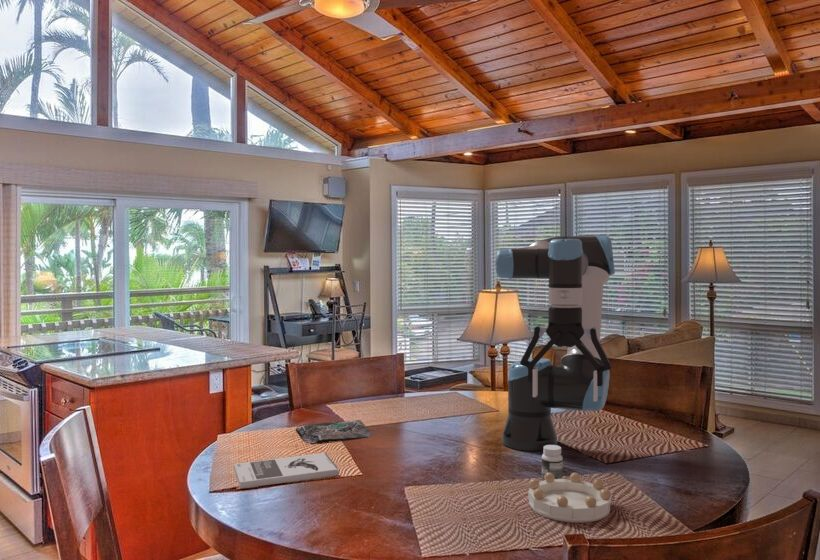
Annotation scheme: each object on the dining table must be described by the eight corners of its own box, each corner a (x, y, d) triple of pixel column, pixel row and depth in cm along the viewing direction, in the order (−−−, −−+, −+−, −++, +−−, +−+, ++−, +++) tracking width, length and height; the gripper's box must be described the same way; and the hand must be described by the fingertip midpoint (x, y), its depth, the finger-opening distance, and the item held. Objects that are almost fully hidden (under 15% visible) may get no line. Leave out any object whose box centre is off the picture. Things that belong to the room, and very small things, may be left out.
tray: (519, 514, 128) (519, 491, 128) (538, 486, 143) (538, 466, 143) (605, 529, 121) (605, 504, 121) (615, 497, 136) (615, 476, 136)
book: (240, 490, 144) (239, 482, 144) (234, 471, 156) (234, 463, 156) (338, 477, 152) (338, 469, 152) (325, 460, 165) (325, 452, 165)
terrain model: (305, 447, 176) (305, 436, 176) (295, 433, 190) (295, 423, 190) (375, 439, 183) (375, 428, 183) (360, 426, 197) (360, 416, 197)
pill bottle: (538, 479, 148) (538, 444, 147) (558, 478, 148) (558, 443, 148) (545, 487, 143) (545, 450, 143) (565, 486, 143) (565, 449, 143)
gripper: (508, 306, 146) (507, 397, 146) (622, 308, 137) (621, 405, 138) (514, 303, 153) (513, 391, 153) (622, 306, 144) (622, 398, 145)
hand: (564, 398), depth 146 cm, fingers open, 13 cm apart
